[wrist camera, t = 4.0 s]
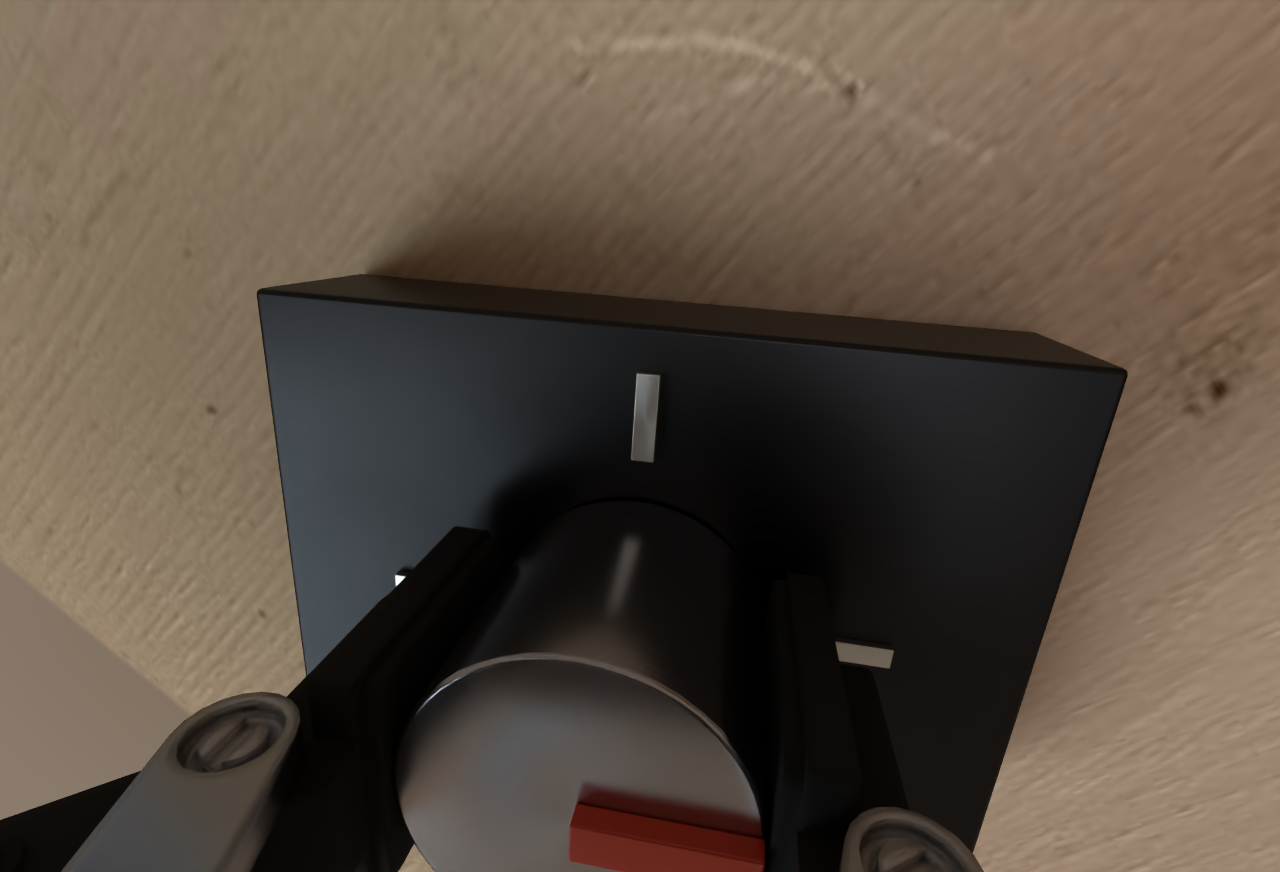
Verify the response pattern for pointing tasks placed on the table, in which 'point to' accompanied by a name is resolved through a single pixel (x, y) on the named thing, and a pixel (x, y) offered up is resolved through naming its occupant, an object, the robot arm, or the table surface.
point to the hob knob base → (707, 470)
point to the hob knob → (598, 709)
